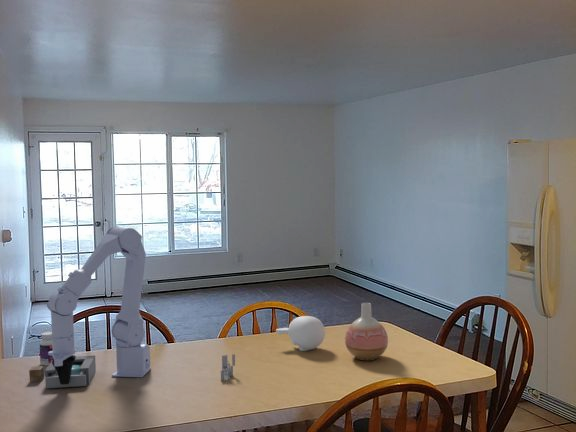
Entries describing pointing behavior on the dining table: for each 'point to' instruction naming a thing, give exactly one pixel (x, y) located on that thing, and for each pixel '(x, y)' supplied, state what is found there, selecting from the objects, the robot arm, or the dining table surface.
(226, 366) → the architectural model
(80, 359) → the grey drawer housing
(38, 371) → the brown rectangular block
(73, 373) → the teal rounded dome
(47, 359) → the pill bottle
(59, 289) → the robot arm
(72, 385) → the tray
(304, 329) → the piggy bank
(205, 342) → the dining table surface
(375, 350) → the vase
